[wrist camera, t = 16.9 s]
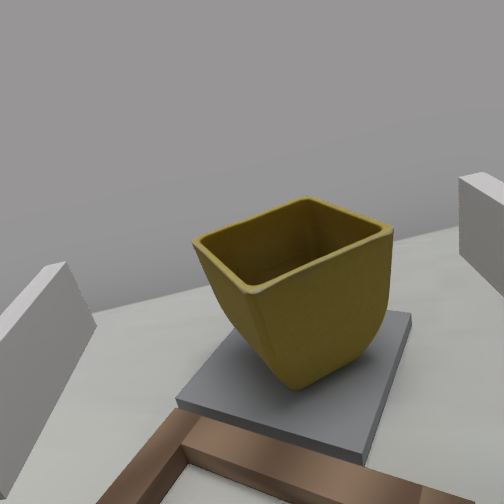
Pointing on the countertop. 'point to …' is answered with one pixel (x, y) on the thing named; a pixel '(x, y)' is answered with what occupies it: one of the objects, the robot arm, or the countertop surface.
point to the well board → (257, 468)
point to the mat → (301, 394)
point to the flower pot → (302, 284)
